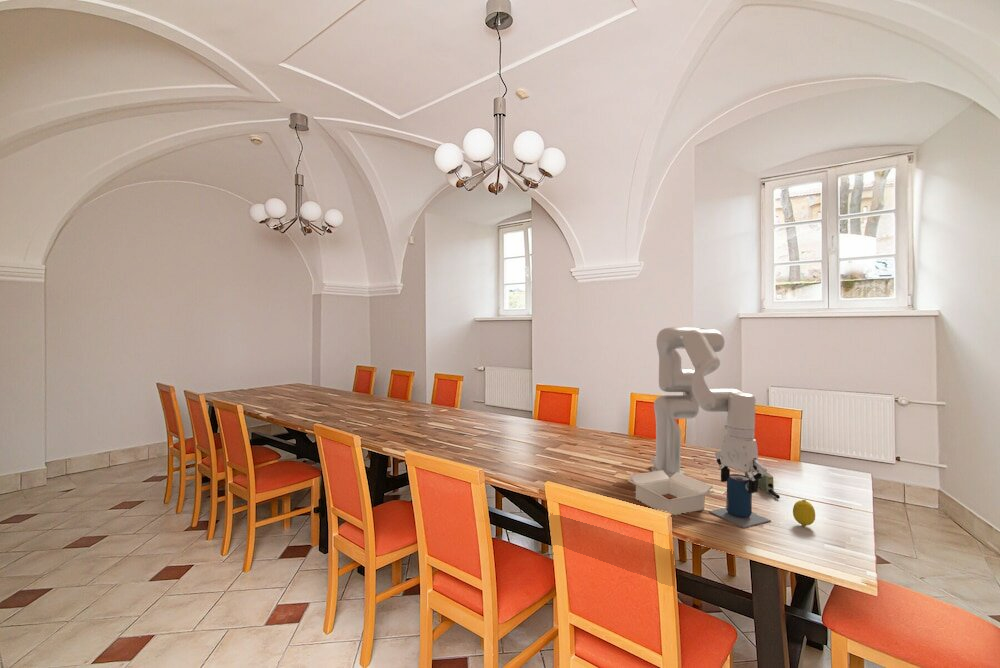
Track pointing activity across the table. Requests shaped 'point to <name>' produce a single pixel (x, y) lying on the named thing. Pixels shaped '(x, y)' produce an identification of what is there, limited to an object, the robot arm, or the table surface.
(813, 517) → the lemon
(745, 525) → the mat
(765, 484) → the handheld radio
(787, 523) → the table surface
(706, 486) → the carton
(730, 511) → the soda can
